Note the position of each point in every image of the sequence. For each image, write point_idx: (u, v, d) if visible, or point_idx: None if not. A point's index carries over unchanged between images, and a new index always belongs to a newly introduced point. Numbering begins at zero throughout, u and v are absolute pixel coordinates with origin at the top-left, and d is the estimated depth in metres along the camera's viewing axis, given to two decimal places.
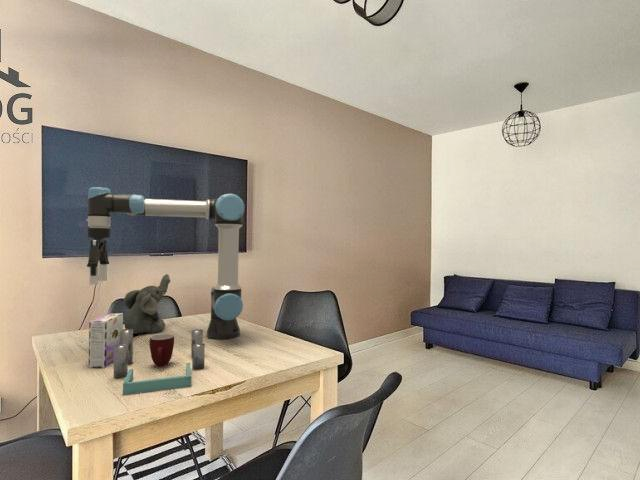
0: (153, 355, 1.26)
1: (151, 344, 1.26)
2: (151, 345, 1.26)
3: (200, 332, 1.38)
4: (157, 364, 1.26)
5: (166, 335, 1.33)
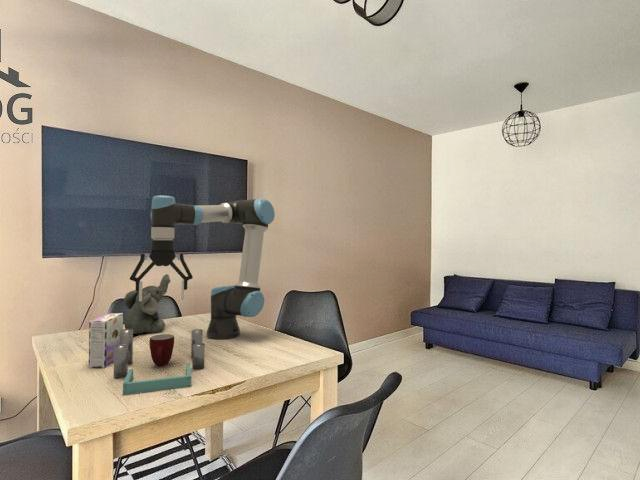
0: (153, 355, 1.26)
1: (151, 344, 1.26)
2: (151, 345, 1.26)
3: (200, 332, 1.38)
4: (157, 364, 1.26)
5: (166, 335, 1.33)
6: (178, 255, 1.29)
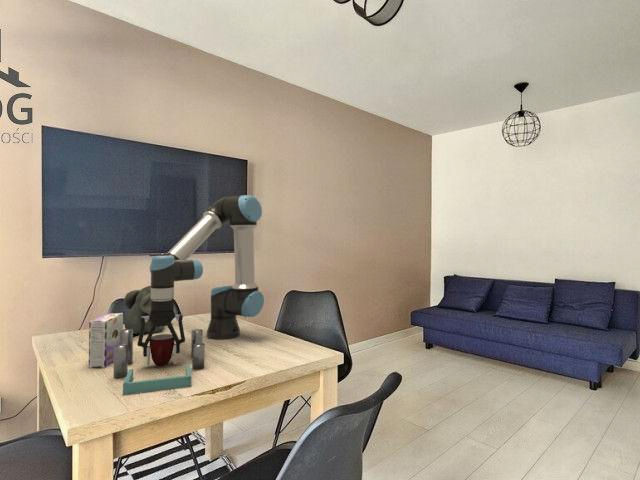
0: (153, 355, 1.26)
1: (151, 344, 1.26)
2: (151, 345, 1.26)
3: (200, 332, 1.38)
4: (157, 364, 1.26)
5: (166, 335, 1.33)
6: (178, 316, 1.29)
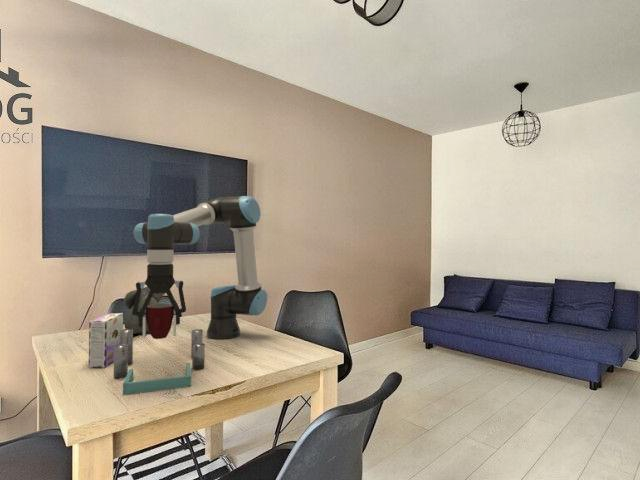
0: (150, 325, 1.11)
1: (148, 313, 1.11)
2: (148, 314, 1.11)
3: (200, 332, 1.38)
4: (154, 336, 1.12)
5: (165, 305, 1.18)
6: (178, 282, 1.15)
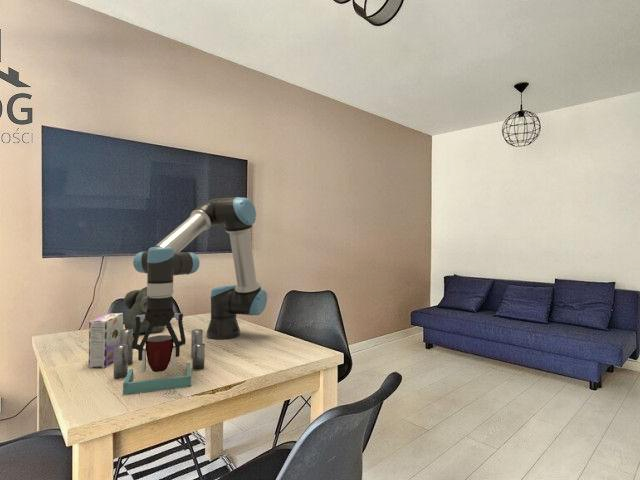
0: (149, 359, 1.11)
1: (147, 346, 1.11)
2: (147, 347, 1.11)
3: (200, 332, 1.38)
4: (154, 369, 1.12)
5: (164, 336, 1.18)
6: (177, 315, 1.15)
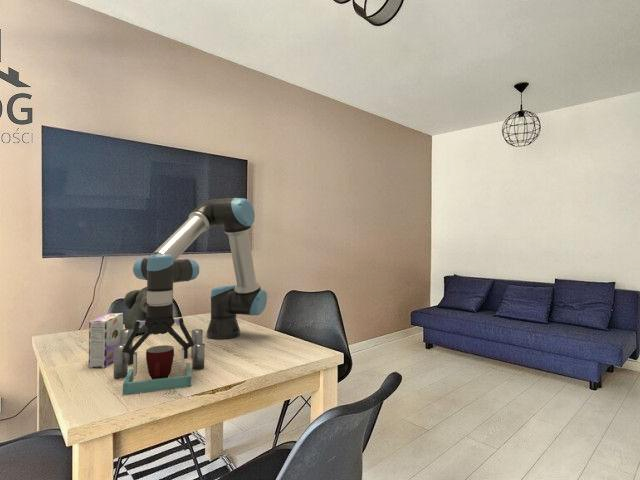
0: (150, 370, 1.11)
1: (148, 357, 1.11)
2: (148, 359, 1.11)
3: (200, 332, 1.38)
4: None
5: (165, 346, 1.18)
6: (177, 320, 1.15)
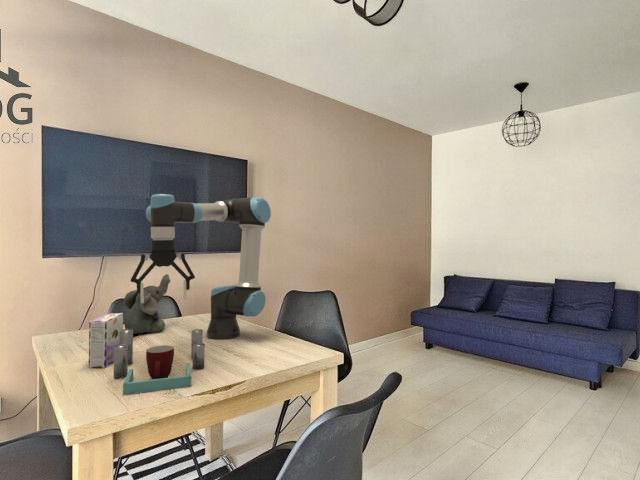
0: (150, 370, 1.11)
1: (148, 357, 1.11)
2: (148, 358, 1.11)
3: (200, 332, 1.38)
4: None
5: (165, 346, 1.18)
6: (179, 255, 1.26)
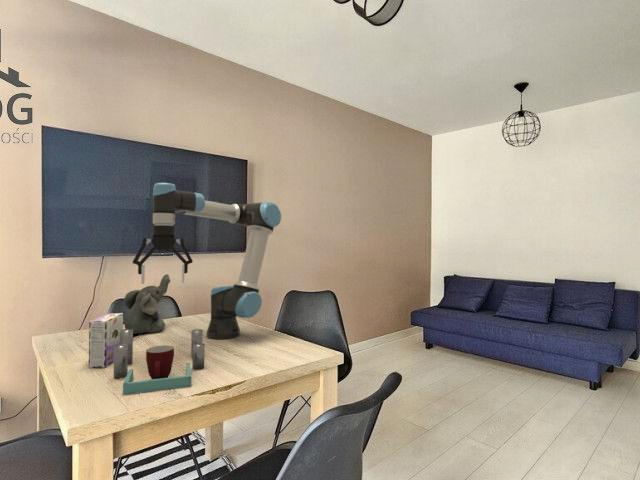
0: (150, 370, 1.11)
1: (148, 357, 1.11)
2: (148, 358, 1.11)
3: (200, 332, 1.38)
4: None
5: (165, 346, 1.18)
6: (178, 240, 1.35)
